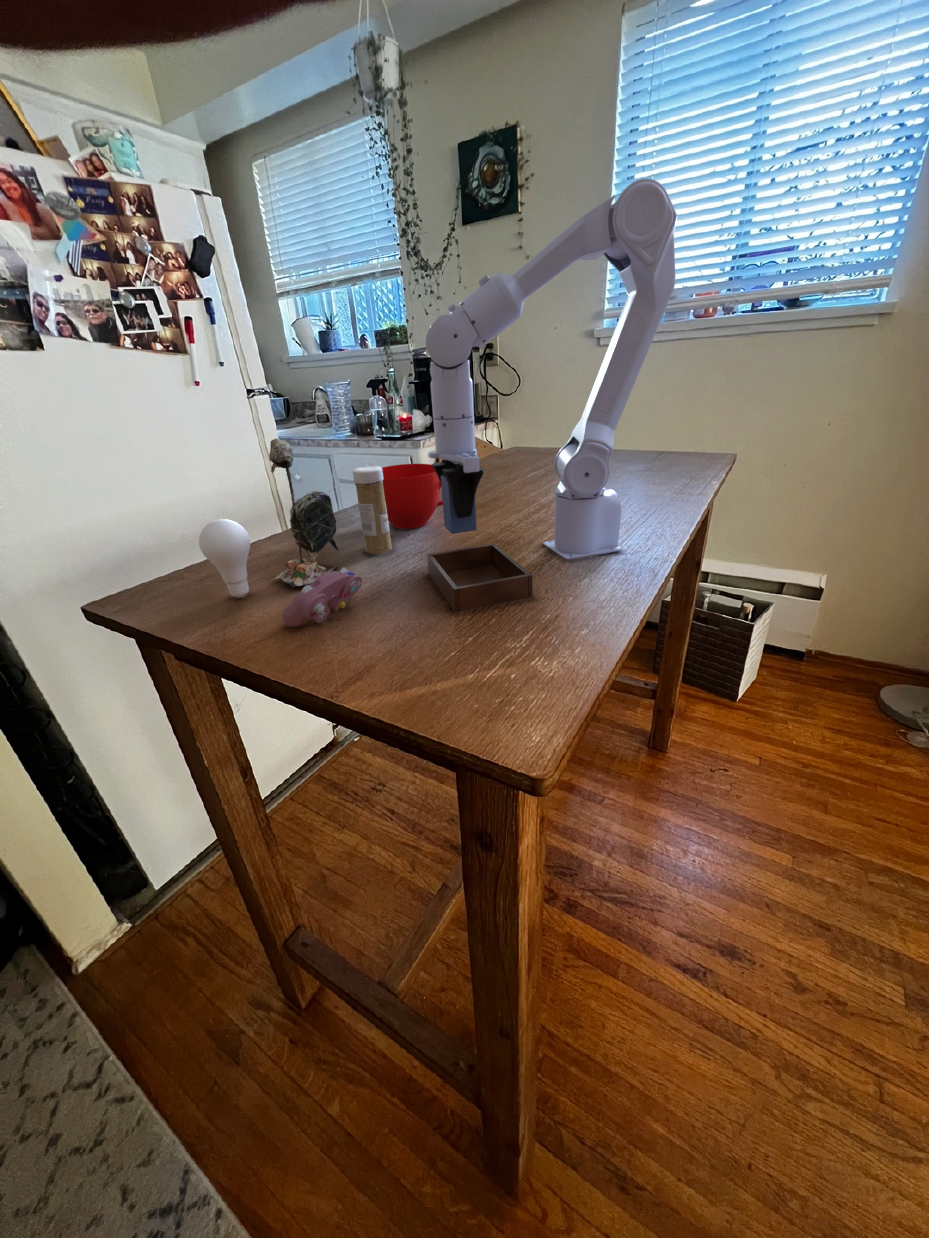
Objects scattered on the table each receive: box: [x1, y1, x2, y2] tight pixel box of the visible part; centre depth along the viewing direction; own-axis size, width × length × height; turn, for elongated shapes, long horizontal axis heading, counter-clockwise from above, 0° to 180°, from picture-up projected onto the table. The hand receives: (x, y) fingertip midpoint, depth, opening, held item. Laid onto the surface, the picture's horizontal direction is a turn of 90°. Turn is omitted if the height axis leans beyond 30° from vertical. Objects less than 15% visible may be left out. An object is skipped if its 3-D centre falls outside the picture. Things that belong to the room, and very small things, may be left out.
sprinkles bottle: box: [352, 465, 393, 555], centre depth 80 cm, size 5×5×13 cm
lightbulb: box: [198, 518, 251, 599], centre depth 67 cm, size 6×6×11 cm
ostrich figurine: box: [268, 438, 340, 588], centre depth 71 cm, size 8×11×20 cm
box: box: [426, 543, 533, 613], centre depth 67 cm, size 10×13×3 cm
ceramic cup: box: [381, 463, 443, 530], centre depth 94 cm, size 13×17×10 cm
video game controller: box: [282, 567, 363, 628], centre depth 62 cm, size 10×5×7 cm, turn 148°
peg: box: [441, 475, 477, 535], centre depth 76 cm, size 4×4×8 cm
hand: (459, 512), depth 76 cm, fingers closed on peg, 4 cm apart
